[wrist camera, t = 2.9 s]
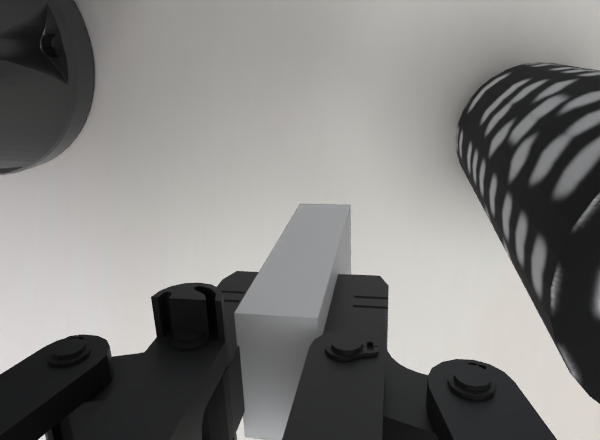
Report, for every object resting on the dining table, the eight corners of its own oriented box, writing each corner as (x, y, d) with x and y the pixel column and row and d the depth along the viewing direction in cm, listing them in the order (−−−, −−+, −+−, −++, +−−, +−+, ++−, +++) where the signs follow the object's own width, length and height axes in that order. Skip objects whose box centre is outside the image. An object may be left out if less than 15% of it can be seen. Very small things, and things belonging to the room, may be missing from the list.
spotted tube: (459, 65, 29) (572, 110, 11) (618, 59, 28) (1067, 98, 9) (452, 203, 32) (533, 430, 13) (596, 204, 31) (911, 460, 12)
